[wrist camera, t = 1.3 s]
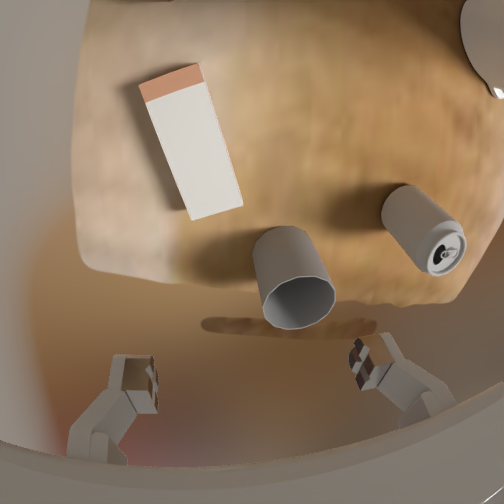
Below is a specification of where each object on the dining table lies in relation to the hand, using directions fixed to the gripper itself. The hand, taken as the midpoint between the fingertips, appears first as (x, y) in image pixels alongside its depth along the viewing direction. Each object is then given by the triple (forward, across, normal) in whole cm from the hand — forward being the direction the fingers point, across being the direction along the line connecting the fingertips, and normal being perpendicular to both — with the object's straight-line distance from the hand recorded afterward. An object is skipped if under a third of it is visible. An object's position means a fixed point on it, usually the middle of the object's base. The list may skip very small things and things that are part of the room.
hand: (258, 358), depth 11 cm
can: (+26, -25, +6) cm, 37 cm away
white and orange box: (+26, +3, -2) cm, 27 cm away
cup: (+27, -9, +13) cm, 31 cm away
